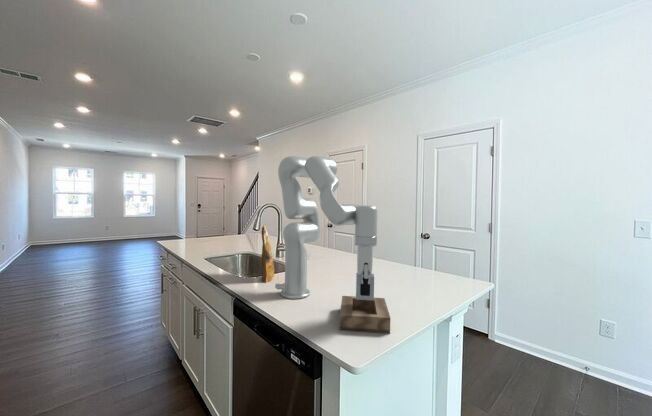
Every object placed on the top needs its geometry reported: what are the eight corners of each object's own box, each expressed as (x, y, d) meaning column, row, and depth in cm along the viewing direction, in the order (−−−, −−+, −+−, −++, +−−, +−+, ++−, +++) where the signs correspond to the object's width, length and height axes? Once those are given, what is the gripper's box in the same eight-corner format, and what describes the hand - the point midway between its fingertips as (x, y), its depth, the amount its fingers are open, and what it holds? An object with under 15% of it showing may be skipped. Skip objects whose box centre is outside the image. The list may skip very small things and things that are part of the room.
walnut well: (339, 330, 90) (339, 314, 90) (341, 308, 108) (342, 295, 108) (390, 333, 89) (390, 318, 89) (384, 311, 107) (384, 298, 106)
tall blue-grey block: (356, 299, 96) (356, 276, 96) (356, 295, 101) (356, 273, 100) (373, 300, 96) (374, 277, 95) (372, 295, 100) (373, 273, 100)
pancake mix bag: (256, 283, 137) (257, 226, 137) (263, 273, 157) (264, 223, 156) (270, 283, 138) (271, 226, 137) (275, 273, 157) (276, 223, 156)
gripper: (354, 237, 106) (354, 285, 107) (355, 244, 90) (353, 300, 90) (374, 238, 106) (373, 286, 106) (378, 245, 89) (377, 302, 89)
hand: (364, 292), depth 98 cm, fingers closed on tall blue-grey block, 4 cm apart
